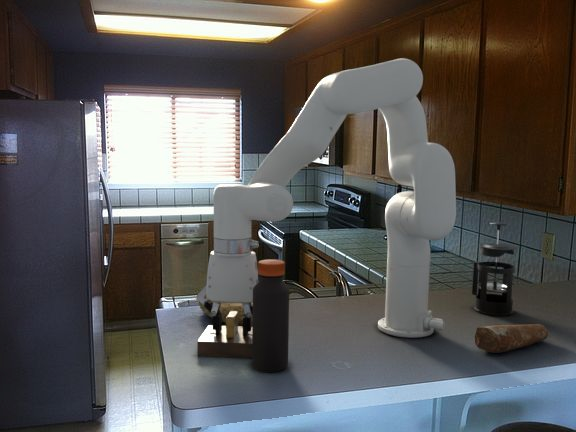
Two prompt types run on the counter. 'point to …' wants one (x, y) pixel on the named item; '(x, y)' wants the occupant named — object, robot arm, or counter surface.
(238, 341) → the lock plate
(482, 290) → the french press
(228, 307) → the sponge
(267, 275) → the bottle
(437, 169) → the robot arm
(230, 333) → the thumbturn
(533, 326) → the bread
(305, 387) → the counter surface
